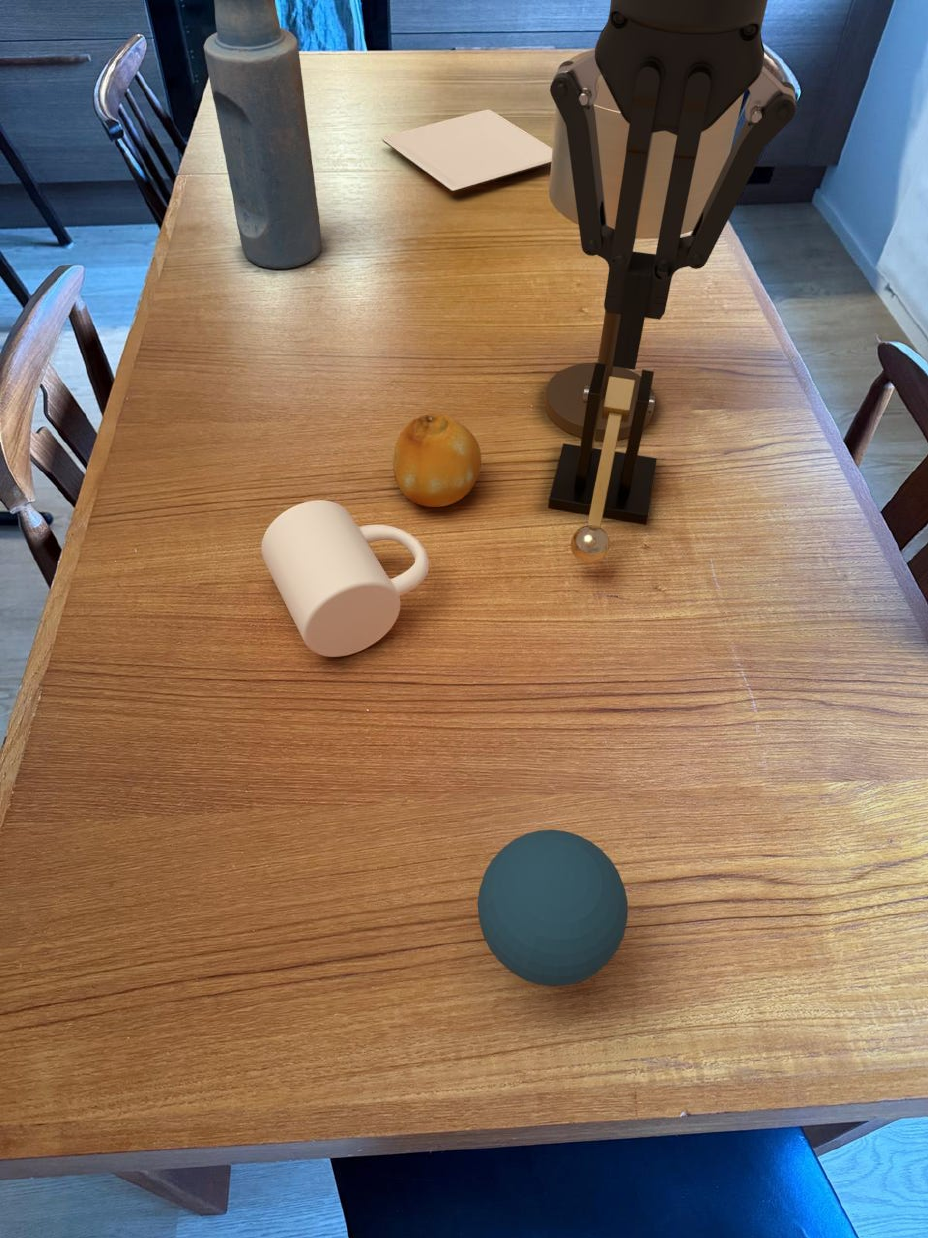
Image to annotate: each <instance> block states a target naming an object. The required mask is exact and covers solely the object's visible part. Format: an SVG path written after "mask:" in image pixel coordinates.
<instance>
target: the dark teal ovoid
mask: <svg viewBox="0 0 928 1238" xmlns="http://www.w3.org/2000/svg"><path fill="white" fill-rule="evenodd" d="M628 906H629V903H628V897H627V891H626V888H625V884H624V883H623V880H622V877H621V875H620V873H619V871H618V868H617V867H616V866H615V864H614V862H613V861H612V859H611V858H610V857H609V856H608V855H607V854H606V853H605V852H604V851H603V850H602V848H600V847H599V846H597V845H596V844H594V843H593V842H592V841H591V840H589V839H588V838H584V836H581V835H579V834H576V833H574V832H573V833H572V832H570V831H566V830H559V829H540V830H535V831H530V832H528V833H524V834H523V835H520V836H518V837H516V838H514V839H513V840H511V841H509V843H508V844H506V845H505V846H504V847H502V848H501V849H500V850H499V851H498V853H496V855H495V856H494V857H492V859H491V861H490V862H489V864H488V866H487V868H486V869H485V871H484V874H483V877H482V880H481V883H480V886H479V889H478V898H477V912H478V922H479V924H480V930H481V932H482V936H483V938H484V940H485V942H486V944H487V946H488V948H489V950H490V952H491V953H492V954H493V955H494V956H495V958H496V959H497V960H498V962H499V963H500V964H501V965H502V966H504V967H505V968H506V969H507V970H509V971H510V972H511V973H512V974H514V975H515V976H518V977H519V978H521V979H522V980H524V981H527V982H530V983H533V984H536V985H539V986H546V987H547V986H548V987H563V986H571V985H574V984H577V983H581V982H585V981H586V980H587V979H589V978H592V977H593V976H595V975H596V974H597V973H598V972H600V971H601V970H602V969H603V968H605V967H606V966H607V964H608V963H609V962H610V961H611V959H612V958H613V957H614V955H616V953H617V951H618V950H619V948H620V946H621V943H622V941H623V939H624V937H625V932H626V929H627V923H628V916H629V914H628V910H629V909H628Z"/></svg>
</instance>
